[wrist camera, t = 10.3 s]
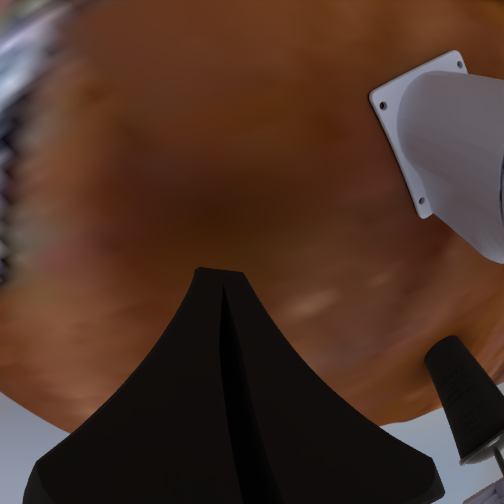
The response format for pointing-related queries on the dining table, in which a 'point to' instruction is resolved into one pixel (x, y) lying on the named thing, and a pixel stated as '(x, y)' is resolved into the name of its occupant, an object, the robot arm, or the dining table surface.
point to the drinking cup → (468, 401)
